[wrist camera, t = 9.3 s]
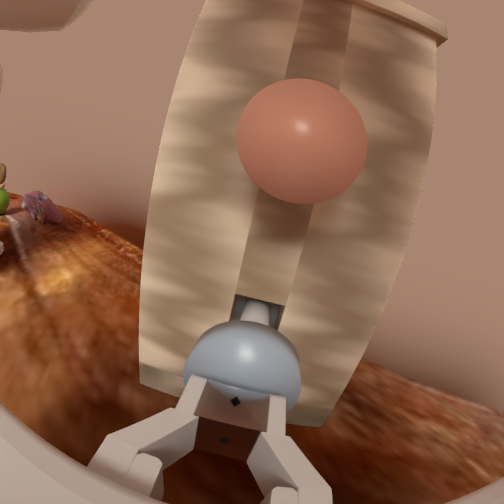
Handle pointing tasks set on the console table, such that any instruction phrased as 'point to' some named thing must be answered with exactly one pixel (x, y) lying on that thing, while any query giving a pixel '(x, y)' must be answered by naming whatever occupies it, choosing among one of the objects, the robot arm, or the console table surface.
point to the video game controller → (41, 207)
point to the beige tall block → (278, 211)
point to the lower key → (248, 353)
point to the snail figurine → (3, 190)
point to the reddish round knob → (301, 141)
